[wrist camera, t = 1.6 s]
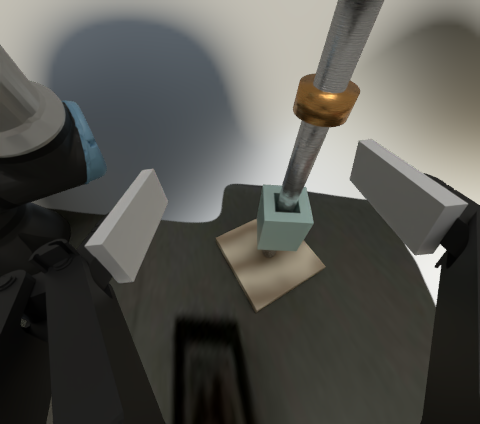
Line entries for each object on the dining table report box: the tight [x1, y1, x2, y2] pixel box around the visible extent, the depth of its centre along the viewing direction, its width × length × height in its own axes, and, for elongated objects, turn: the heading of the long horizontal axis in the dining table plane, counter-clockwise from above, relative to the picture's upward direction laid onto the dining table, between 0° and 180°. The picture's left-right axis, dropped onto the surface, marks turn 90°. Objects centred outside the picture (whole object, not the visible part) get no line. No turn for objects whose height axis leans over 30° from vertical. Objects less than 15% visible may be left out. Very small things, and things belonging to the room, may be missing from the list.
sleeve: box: [257, 185, 314, 251], centre depth 30 cm, size 6×6×8 cm
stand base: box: [216, 219, 325, 313], centre depth 39 cm, size 15×15×2 cm
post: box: [263, 0, 384, 258], centre depth 22 cm, size 5×5×40 cm
